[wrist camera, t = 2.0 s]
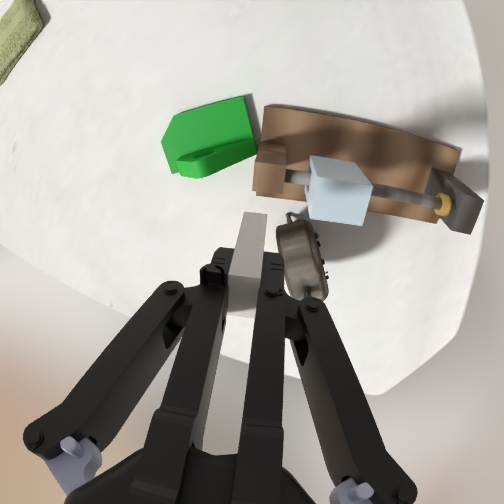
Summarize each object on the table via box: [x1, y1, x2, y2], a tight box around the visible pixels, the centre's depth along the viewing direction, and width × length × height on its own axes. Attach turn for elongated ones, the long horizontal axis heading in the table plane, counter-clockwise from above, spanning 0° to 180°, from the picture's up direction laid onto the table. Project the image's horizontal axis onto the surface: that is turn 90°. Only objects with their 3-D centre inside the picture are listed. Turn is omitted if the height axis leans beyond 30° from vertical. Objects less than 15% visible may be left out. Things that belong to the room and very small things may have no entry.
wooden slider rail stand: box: [252, 106, 484, 235], centre depth 31 cm, size 28×12×10 cm, turn 86°
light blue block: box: [304, 155, 373, 226], centre depth 27 cm, size 5×4×7 cm
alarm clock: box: [276, 213, 329, 301], centre depth 36 cm, size 11×5×16 cm, turn 19°
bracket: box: [161, 96, 258, 178], centre depth 32 cm, size 12×8×7 cm, turn 103°
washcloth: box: [0, 0, 43, 86], centre depth 23 cm, size 13×18×3 cm
